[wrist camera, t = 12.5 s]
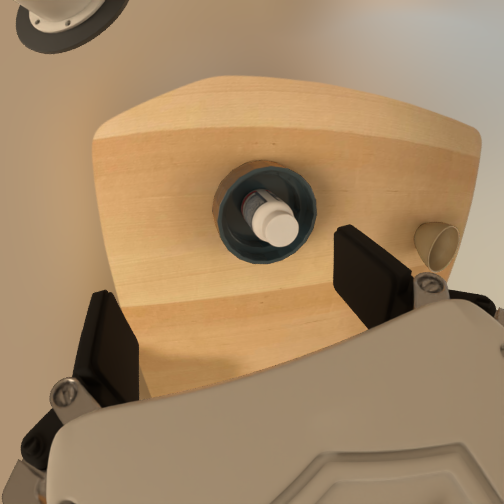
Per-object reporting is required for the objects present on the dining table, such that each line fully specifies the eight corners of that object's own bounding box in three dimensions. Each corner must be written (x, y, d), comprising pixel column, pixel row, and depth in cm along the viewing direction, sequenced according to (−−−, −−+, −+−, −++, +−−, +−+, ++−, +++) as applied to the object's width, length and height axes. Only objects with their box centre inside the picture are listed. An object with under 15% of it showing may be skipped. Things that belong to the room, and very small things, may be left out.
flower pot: (426, 202, 48) (452, 216, 42) (441, 229, 53) (463, 243, 47) (398, 241, 51) (422, 258, 44) (415, 263, 55) (437, 280, 49)
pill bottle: (241, 226, 40) (259, 255, 32) (239, 190, 37) (258, 211, 30) (277, 221, 41) (302, 249, 33) (277, 186, 39) (304, 206, 31)
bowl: (203, 170, 36) (208, 178, 31) (297, 153, 38) (313, 159, 33) (221, 257, 42) (228, 274, 38) (303, 236, 44) (318, 250, 40)
